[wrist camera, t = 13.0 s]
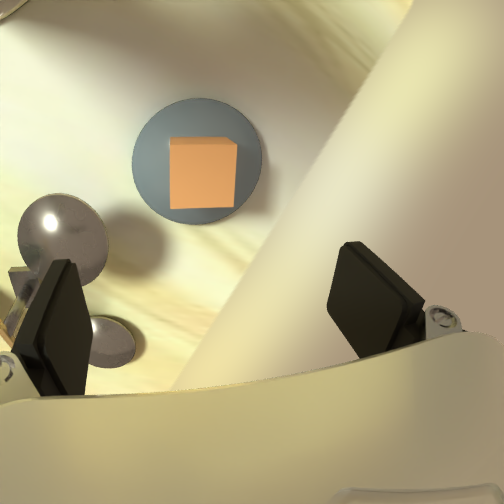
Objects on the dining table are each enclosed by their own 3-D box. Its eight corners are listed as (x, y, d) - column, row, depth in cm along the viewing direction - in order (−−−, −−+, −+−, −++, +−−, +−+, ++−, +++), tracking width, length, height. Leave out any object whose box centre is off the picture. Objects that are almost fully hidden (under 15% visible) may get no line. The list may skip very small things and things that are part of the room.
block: (169, 137, 26) (169, 145, 21) (225, 136, 27) (237, 144, 23) (169, 190, 28) (170, 209, 24) (223, 189, 29) (233, 206, 25)
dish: (134, 99, 24) (132, 99, 23) (263, 102, 27) (267, 102, 26) (135, 222, 30) (134, 226, 28) (253, 218, 33) (256, 222, 32)
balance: (-7, 184, 23) (-67, 229, 13) (115, 171, 27) (87, 214, 17) (45, 359, 34) (29, 425, 25) (140, 359, 38) (141, 431, 28)
